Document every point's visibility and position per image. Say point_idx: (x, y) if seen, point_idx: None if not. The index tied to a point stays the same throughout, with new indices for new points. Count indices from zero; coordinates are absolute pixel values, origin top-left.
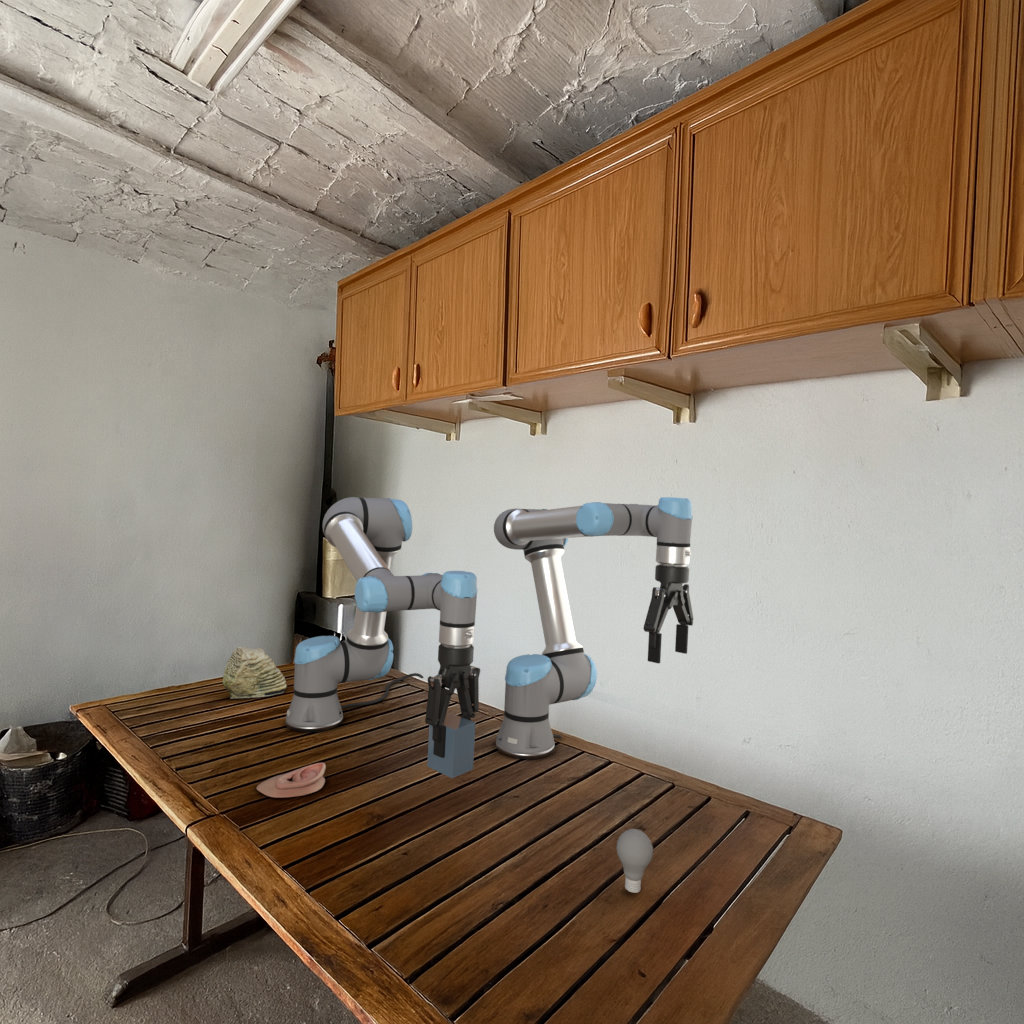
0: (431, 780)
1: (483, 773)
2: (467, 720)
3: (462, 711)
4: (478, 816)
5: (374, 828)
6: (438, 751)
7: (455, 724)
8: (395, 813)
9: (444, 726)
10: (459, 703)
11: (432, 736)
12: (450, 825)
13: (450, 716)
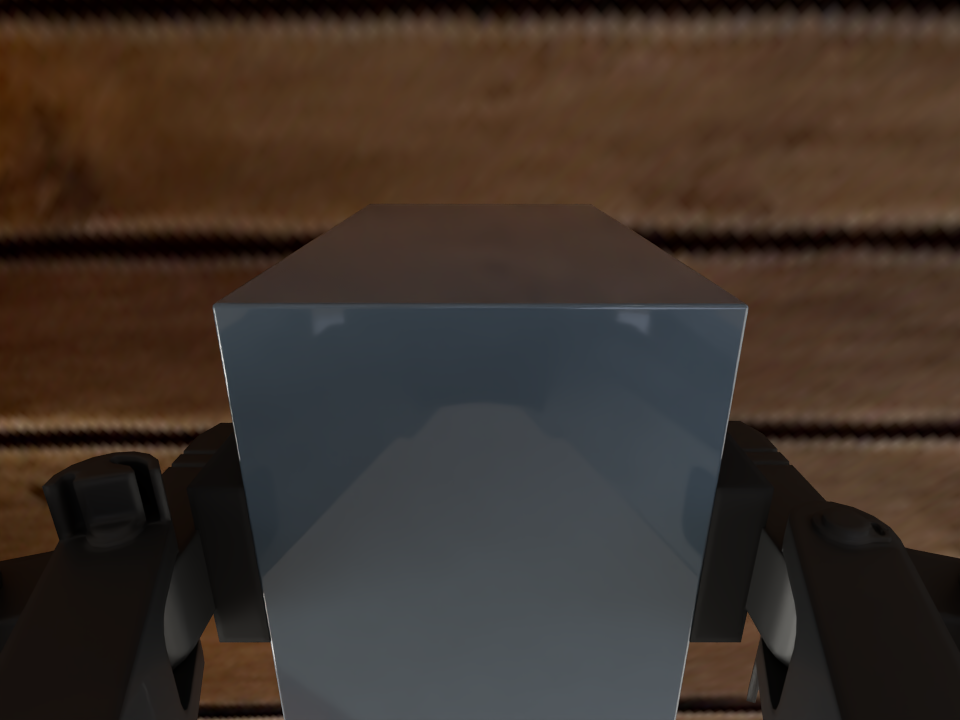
0: (561, 45)
1: (840, 210)
2: (651, 670)
3: (788, 579)
4: None
5: (7, 263)
6: None
7: (417, 669)
8: (162, 219)
9: (247, 630)
10: (833, 683)
11: (187, 448)
12: None
13: (599, 433)
